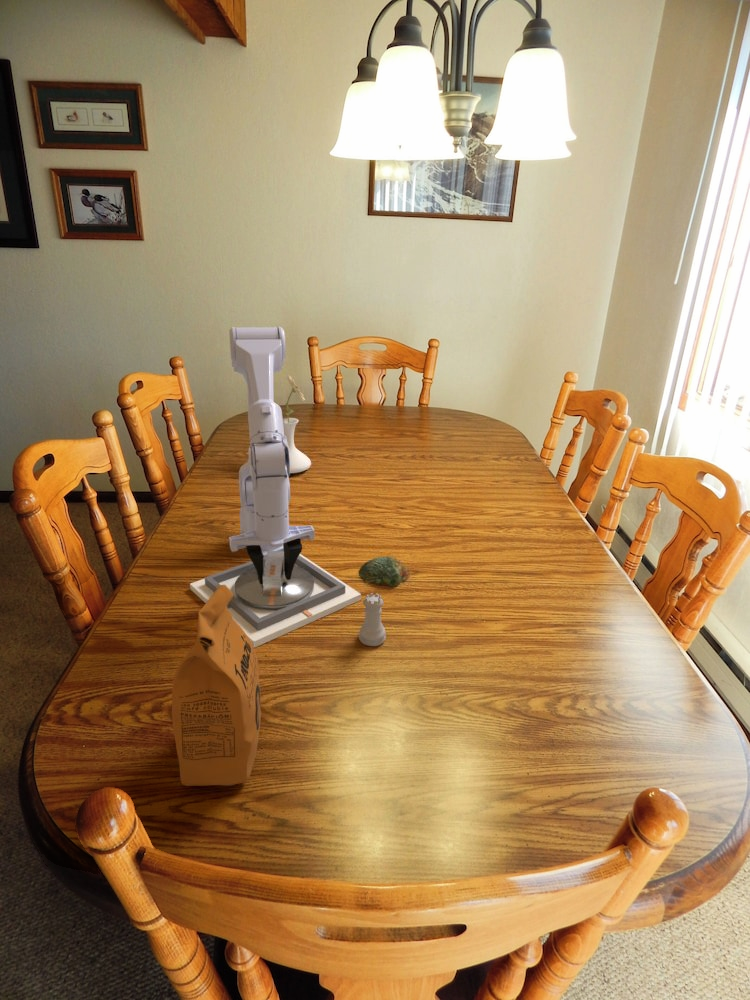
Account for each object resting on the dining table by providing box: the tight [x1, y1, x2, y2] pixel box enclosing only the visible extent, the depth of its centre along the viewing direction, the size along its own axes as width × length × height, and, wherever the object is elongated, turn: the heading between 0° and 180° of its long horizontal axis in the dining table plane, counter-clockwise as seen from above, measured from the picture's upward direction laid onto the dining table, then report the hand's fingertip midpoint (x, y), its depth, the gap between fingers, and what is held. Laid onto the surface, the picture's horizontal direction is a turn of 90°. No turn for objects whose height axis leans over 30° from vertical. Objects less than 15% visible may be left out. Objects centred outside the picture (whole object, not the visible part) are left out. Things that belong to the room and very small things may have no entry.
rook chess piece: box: [358, 592, 387, 647], centre depth 100 cm, size 4×4×8 cm
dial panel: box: [189, 549, 362, 649], centre depth 112 cm, size 22×22×3 cm
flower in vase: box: [282, 375, 312, 474], centre depth 165 cm, size 13×11×25 cm
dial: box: [235, 550, 314, 610], centre depth 111 cm, size 14×14×5 cm
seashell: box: [358, 556, 412, 588], centre depth 120 cm, size 10×4×10 cm
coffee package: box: [171, 585, 262, 787], centre depth 74 cm, size 10×12×22 cm
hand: (274, 579), depth 111 cm, fingers closed on dial, 4 cm apart
